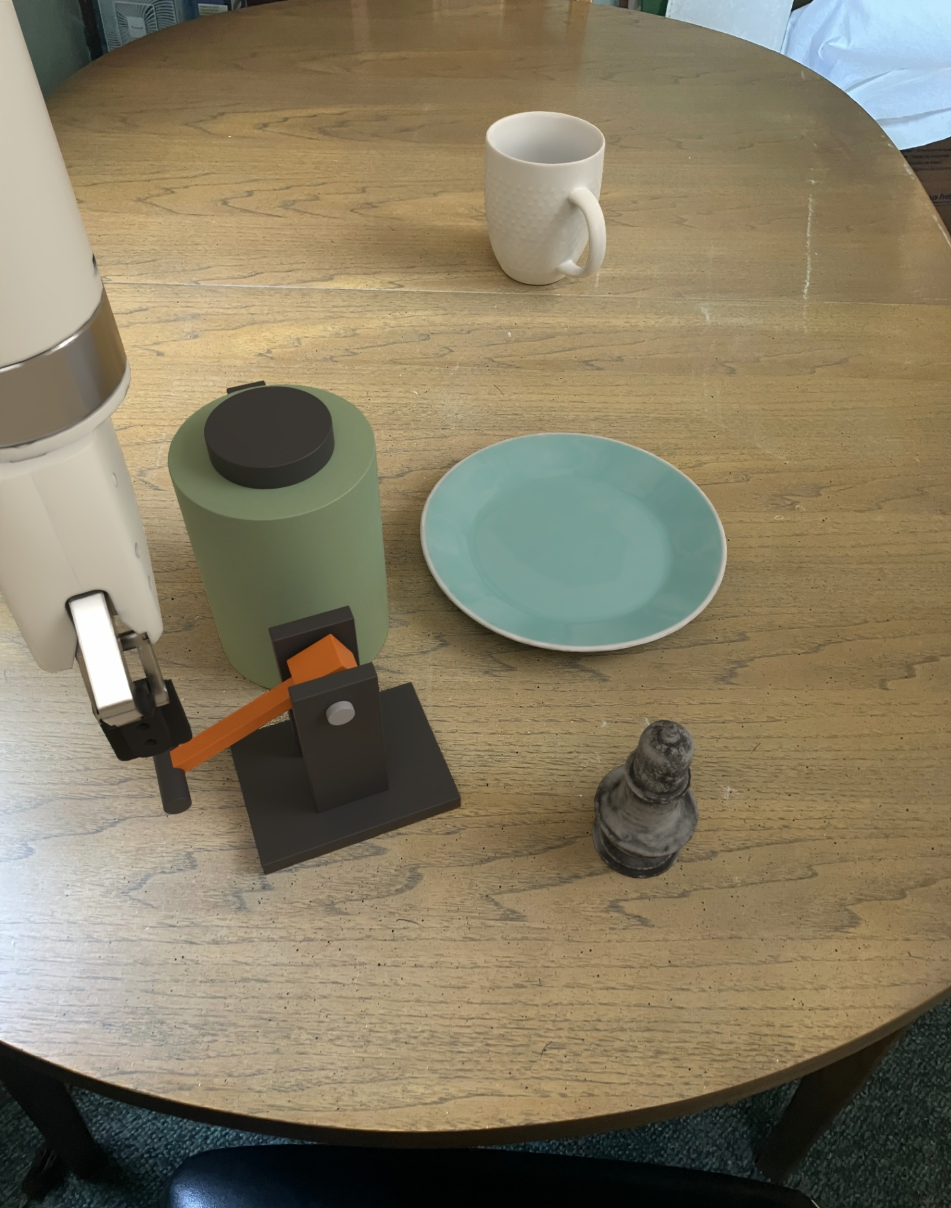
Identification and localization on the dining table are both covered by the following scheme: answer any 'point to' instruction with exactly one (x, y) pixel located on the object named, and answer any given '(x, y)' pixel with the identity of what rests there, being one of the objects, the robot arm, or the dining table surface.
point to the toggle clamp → (338, 756)
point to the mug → (544, 195)
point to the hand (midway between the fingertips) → (138, 662)
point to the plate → (573, 542)
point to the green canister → (282, 516)
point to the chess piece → (647, 804)
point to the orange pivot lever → (244, 721)
